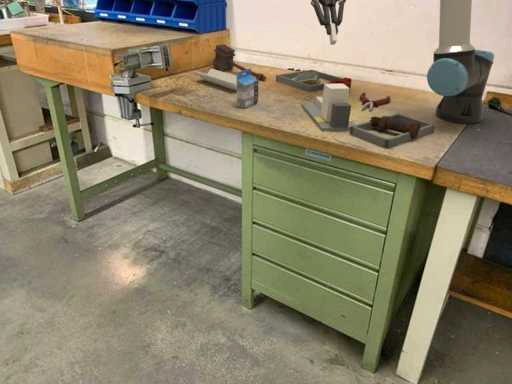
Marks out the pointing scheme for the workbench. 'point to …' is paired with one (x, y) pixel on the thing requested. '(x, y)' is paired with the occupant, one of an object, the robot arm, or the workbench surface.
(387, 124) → the bolt
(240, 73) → the label tape box
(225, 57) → the hammer
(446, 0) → the robot arm
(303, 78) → the metal bracket
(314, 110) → the rail board
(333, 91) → the cream upright block
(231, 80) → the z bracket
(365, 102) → the pliers
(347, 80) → the mechanical linkage
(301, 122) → the workbench surface
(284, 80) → the bracket parts frame
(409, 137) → the bolt parts frame
